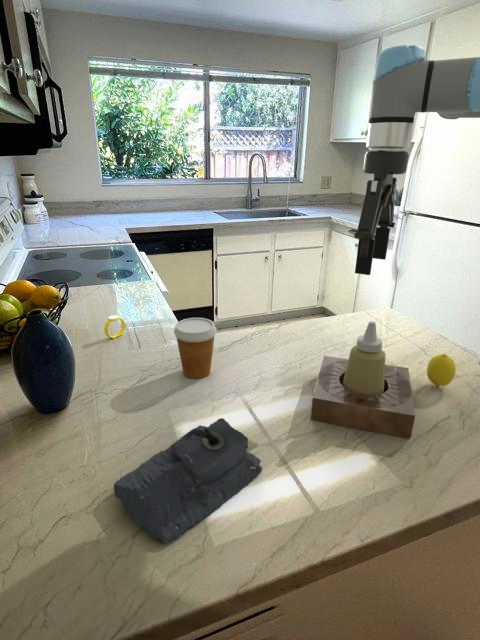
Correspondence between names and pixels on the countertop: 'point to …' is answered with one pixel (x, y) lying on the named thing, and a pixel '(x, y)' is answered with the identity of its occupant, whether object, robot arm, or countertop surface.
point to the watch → (110, 319)
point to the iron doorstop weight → (188, 480)
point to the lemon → (441, 370)
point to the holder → (364, 401)
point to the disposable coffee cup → (195, 346)
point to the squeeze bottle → (366, 364)
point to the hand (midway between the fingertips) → (371, 265)
